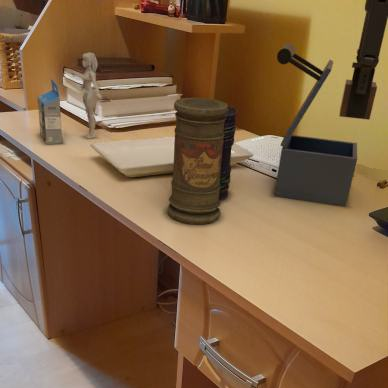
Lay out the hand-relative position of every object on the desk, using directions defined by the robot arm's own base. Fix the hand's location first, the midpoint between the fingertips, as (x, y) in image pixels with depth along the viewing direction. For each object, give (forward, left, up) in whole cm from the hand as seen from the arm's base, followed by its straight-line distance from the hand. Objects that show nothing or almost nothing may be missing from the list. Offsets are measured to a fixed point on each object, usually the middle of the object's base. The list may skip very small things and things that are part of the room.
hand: (354, 112), depth 80 cm
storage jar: (+24, -5, -18) cm, 31 cm away
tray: (+34, -19, -18) cm, 43 cm away
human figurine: (+58, -32, -18) cm, 69 cm away
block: (0, 0, 0) cm, 0 cm away
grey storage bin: (+4, -15, -18) cm, 23 cm away
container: (+23, +6, -18) cm, 30 cm away
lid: (+8, -15, -2) cm, 17 cm away
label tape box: (+66, -25, -18) cm, 73 cm away
